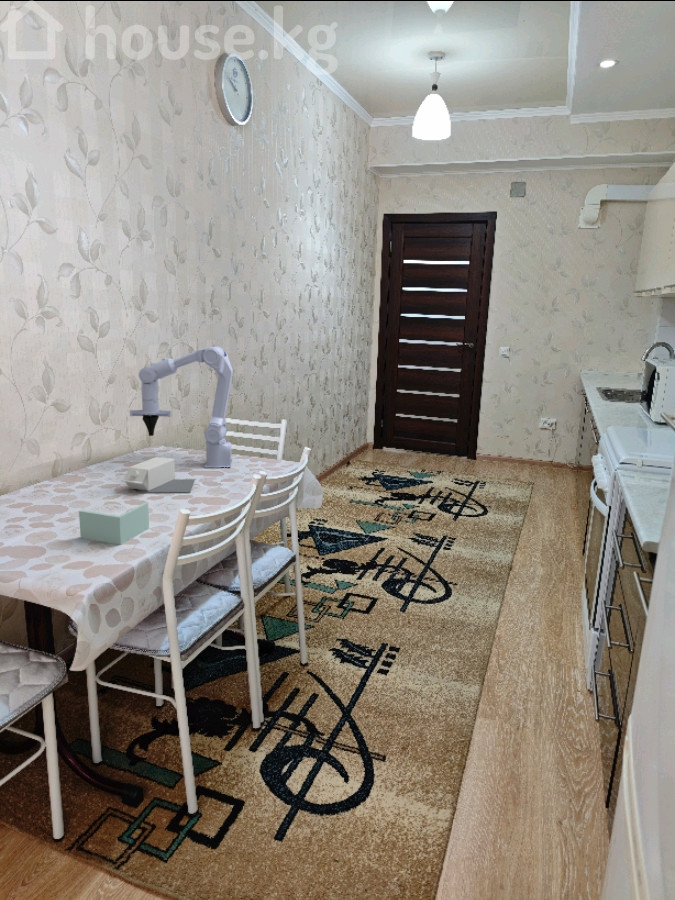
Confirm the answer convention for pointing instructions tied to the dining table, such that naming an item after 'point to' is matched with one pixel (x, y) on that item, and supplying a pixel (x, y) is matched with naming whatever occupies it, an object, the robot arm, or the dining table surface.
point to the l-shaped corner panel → (114, 525)
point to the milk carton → (150, 473)
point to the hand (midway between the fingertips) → (151, 435)
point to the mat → (173, 487)
